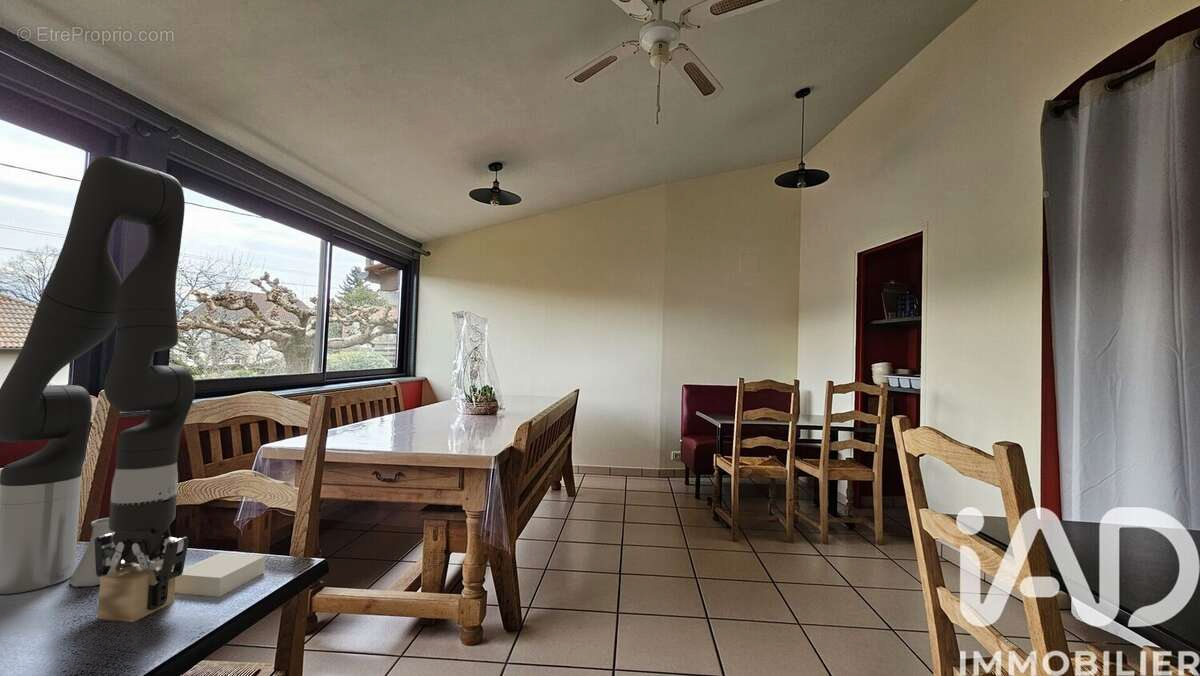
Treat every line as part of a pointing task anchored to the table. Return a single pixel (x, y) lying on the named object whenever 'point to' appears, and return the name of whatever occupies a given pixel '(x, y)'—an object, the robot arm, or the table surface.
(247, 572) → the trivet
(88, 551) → the flask
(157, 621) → the table surface
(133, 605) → the oak block
